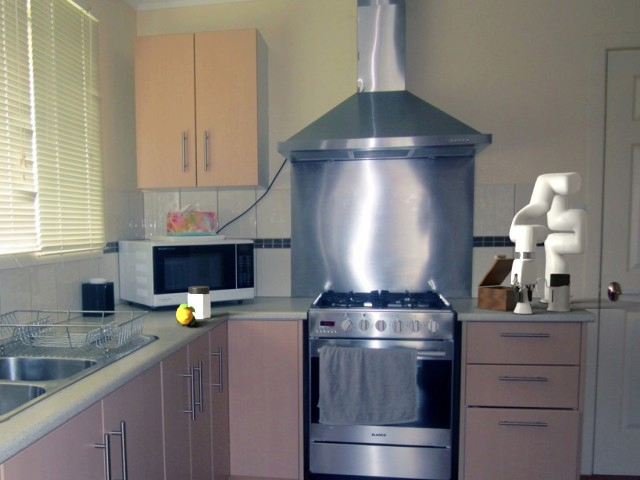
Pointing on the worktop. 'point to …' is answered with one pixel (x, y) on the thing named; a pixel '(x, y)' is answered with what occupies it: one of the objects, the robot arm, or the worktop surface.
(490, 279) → the lid
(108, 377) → the worktop surface
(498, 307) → the chest
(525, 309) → the flask
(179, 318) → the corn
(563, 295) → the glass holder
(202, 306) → the jar
